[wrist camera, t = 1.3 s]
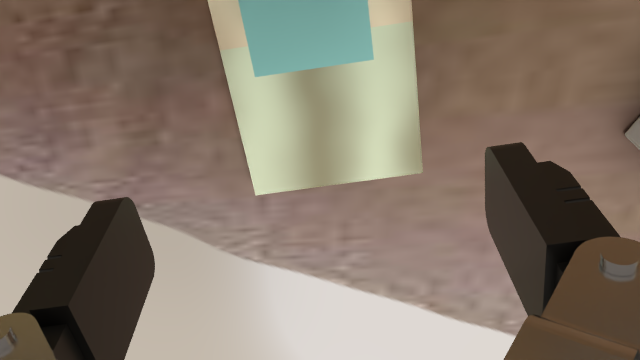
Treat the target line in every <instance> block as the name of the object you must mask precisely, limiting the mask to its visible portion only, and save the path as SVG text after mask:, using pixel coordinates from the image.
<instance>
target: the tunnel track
mask: <svg viewBox="0 0 640 360" xmlns="http://www.w3.org/2000/svg"><path fill="white" fill-rule="evenodd" d="M208 4H209V8H210V12H211V16H212V20H213V24H214V28H215V33H216V37H217V41H218V45H219V49H220V53H221V57H222V61H223V65H224V69H225V73H226V77H227V81H228V85H229V89H230V93H231V97H232V101H233V106H234V110H235V114H236V118H237V122H238V126H239V130H240V134H241V138H242V142H243V146H244V150H245V154H246V158H247V162H248V166H249V170H250V174H251V179H252V183H253V187H254V191H255V195H261V194H269V193H276V192H284V191H291V190H299V189H306V188H314V187H321V186H328V185H336V184H343V183H351V182H358V181H366V180H373V179H381V178H388V177H396V176H403V175H410V174H418V173H423V169H422V154H421V139H420V124H419V109H418V94H417V79H416V64H415V49H414V34H413V19H412V4H411V0H368V8H369V17H370V27H371V36H372V46H373V55H374V60H369V61H362V62H355V63H348V64H342V65H335V66H328V67H321V68H315V69H308V70H301V71H294V72H287V73H281V74H274V75H267V76H260V77H255V75H254V71H253V66H252V61H251V57H250V52H249V48H248V43H247V39H246V34H245V30H244V25H243V21H242V16H241V11H240V7H239V2H238V0H208Z"/></svg>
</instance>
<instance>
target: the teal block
mask: <svg viewBox="0 0 640 360" xmlns="http://www.w3.org/2000/svg"><path fill="white" fill-rule="evenodd" d="M238 2H239V7H240V11H241V16H242V21H243V25H244V30H245V34H246V39H247V43H248V48H249V52H250V57H251V61H252V66H253V71H254V75H255V77H260V76H267V75H274V74H281V73H287V72H294V71H301V70H308V69H315V68H321V67H328V66H335V65H342V64H348V63H355V62H362V61H369V60H374V55H373V46H372V36H371V27H370V17H369V8H368V0H238Z"/></svg>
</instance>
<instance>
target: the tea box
mask: <svg viewBox="0 0 640 360" xmlns="http://www.w3.org/2000/svg"><path fill="white" fill-rule="evenodd" d="M625 136H626V137H627V138H628V139H629V140H630V141H631V142H632V143H633V144H634V145H635V146H636V147H637V148H638V149H639V150H640V117H639V118H638V119H637V120H636V121H635V122H634V124H633V125H632V126H631V127H630V128H629V130H628V131H627V132H626V133H625Z"/></svg>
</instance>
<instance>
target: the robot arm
mask: <svg viewBox="0 0 640 360" xmlns="http://www.w3.org/2000/svg"><path fill="white" fill-rule="evenodd" d="M485 210H486V218H487V224H488V228H489V231H490V234H491V236H492V238H493V240H494V243H495V245H496V247H497V249H498V251H499V254H500V256H501V258H502V260H503V262H504V265H505V267H506V269H507V271H508V273H509V276H510V278H511V280H512V282H513V284H514V286H515V289H516V291H517V293H518V295H519V297H520V300H521V302H522V304H523V306H524V308H525V311H526V313H527V315H528V317H527V319H526V320H525V322H524V323H523V325H522V327H521V329H520V331H519V332H518V334H517V336H516V338H515V340H514V342H513V343H512V345H511V347H510V349H509V351H508V353H507V355H506V356H505V358H504V360H640V242H638V241H635V240H631V239H627V238H622V237H620V236H619V234H618V233H617V232H616V231H615V229H614V228H613V227H612V225H611V224H610V223H609V222H608V220H607V219H606V218H605V216H604V215H603V214H602V213H601V211H600V210H599V209H598V207H597V206H596V205H595V204H594V202H593V201H592V200H590V197H589V196H588V195H587V193H586V192H585V191H584V190H583V189H581V186H580V184H579V183H578V182H577V181H576V179H575V178H574V177H573V175H572V174H571V173H570V172H569V171H567V170H566V169H564V168H562V167H560V166H558V165H557V164H555V163H553V162H551V161H546V162H539V163H537V162H536V160H535V159H534V158H533V156H532V155H531V153H530V152H529V150H528V149H527V148H526V146H525V145H524V144H523V143H522V142H520V143H513V144H506V145H499V146H492V147H487V148H486V152H485ZM154 270H155V262H154V255H153V251H152V248H151V246H150V243H149V241H148V238H147V235H146V233H145V230H144V228H143V225H142V222H141V220H140V217H139V215H138V212H137V209H136V207H135V205H134V203H133V201H132V200H131V199H130V198H128V197H124V198H117V199H110V200H103V201H96V202H94V203H93V204H92V206H91V208H90V209H89V211H88V212H87V214H86V216H85V217H84V219H83V221H82V222H81V224H80V225H78V226H74V227H73V228H72V229H71V230H70V231H68V232H67V233H66V234H65V235H64V236H62V237H61V238H60V239H59V240H58V241H57V242H56V244H55V245H54V247H53V248H52V250H51V252H50V253H49V255H48V260H45V261H44V263H43V264H42V266H41V268H40V269H39V273H37V274H36V276H35V277H34V279H33V280H32V282H31V283H30V285H29V287H28V288H27V290H26V291H25V293H24V295H23V296H22V298H21V300H20V301H19V303H18V304H17V306H16V307H15V309H14V310H13V312H12V313H11V314H7V315H3V316H1V317H0V360H124V359H125V356H126V353H127V350H128V347H129V344H130V342H131V339H132V336H133V333H134V331H135V328H136V325H137V322H138V319H139V317H140V314H141V311H142V308H143V305H144V303H145V300H146V297H147V294H148V291H149V288H150V286H151V283H152V280H153V277H154Z"/></svg>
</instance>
